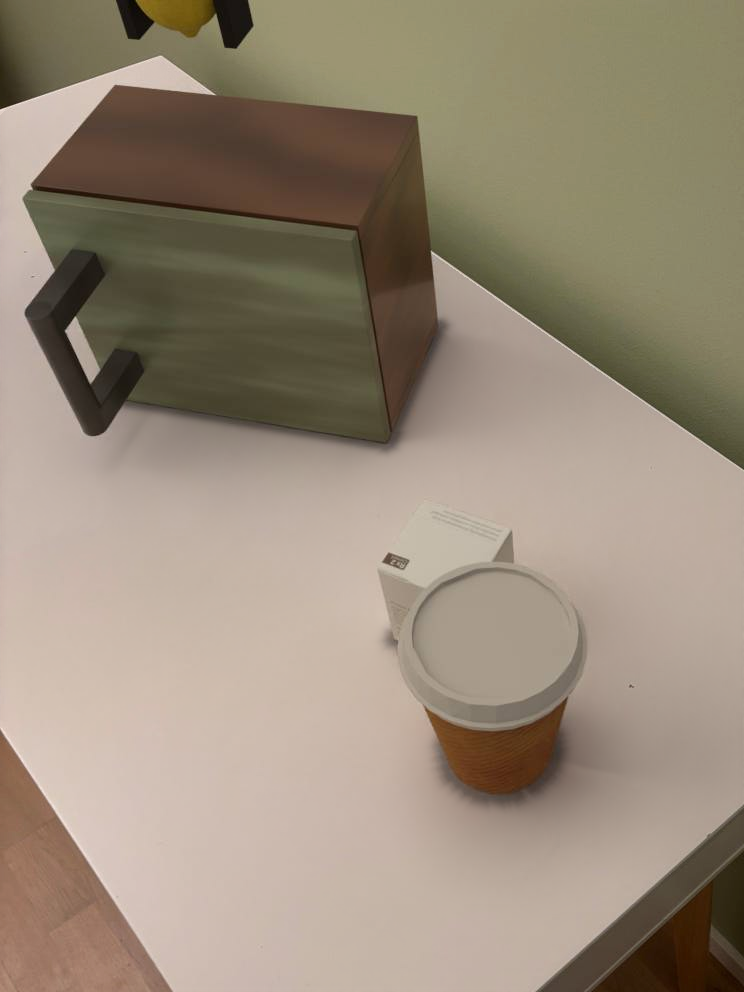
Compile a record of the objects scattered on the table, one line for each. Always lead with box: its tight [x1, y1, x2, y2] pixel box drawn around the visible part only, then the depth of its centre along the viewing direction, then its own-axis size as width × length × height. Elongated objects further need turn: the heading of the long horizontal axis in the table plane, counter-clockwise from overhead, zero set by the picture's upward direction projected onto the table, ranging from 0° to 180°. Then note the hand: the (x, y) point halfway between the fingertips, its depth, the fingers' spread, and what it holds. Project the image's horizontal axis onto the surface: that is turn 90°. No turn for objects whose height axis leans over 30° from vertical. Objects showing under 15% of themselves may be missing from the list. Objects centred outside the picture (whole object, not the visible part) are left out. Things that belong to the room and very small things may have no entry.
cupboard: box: [30, 84, 439, 433], centre depth 73 cm, size 12×22×17 cm, turn 75°
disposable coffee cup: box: [396, 562, 589, 795], centre depth 56 cm, size 10×10×12 cm
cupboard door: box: [21, 189, 392, 444], centre depth 68 cm, size 8×22×17 cm, turn 75°
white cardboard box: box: [376, 498, 515, 642], centre depth 63 cm, size 6×6×7 cm
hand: (190, 31), depth 62 cm, fingers closed on lemon, 5 cm apart
